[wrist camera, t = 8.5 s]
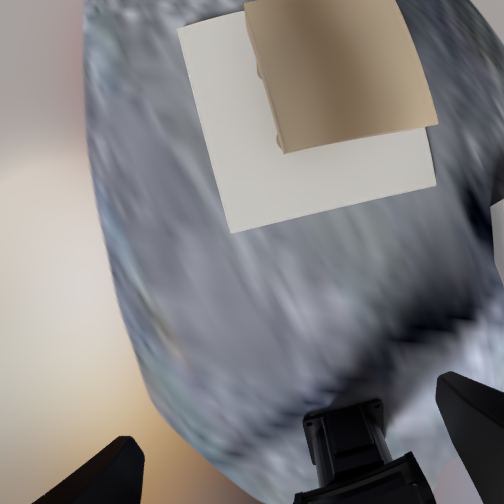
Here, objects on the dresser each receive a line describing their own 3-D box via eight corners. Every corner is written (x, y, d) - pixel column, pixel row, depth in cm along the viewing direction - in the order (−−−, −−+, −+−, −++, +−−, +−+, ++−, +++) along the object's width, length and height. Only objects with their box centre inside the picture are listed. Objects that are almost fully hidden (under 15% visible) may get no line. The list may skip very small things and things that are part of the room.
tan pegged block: (348, 44, 15) (390, -11, 8) (377, 137, 17) (438, 124, 10) (249, 60, 16) (243, 3, 9) (277, 158, 17) (288, 151, 10)
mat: (430, 184, 18) (436, 185, 17) (231, 231, 19) (230, 233, 18) (375, 1, 15) (379, -4, 14) (180, 33, 16) (176, 28, 15)
